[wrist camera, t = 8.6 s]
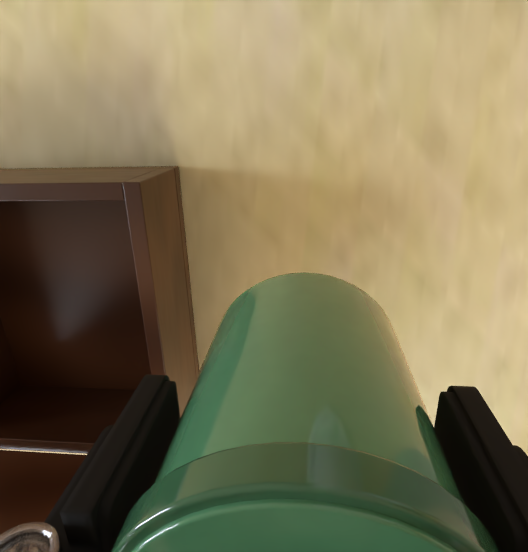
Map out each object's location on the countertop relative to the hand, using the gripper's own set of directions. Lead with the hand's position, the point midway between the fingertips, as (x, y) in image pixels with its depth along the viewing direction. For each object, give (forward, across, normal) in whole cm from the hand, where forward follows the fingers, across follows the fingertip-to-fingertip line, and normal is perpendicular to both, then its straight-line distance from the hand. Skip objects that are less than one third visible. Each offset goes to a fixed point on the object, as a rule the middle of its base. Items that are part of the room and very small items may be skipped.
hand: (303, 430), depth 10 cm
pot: (+3, 0, 0) cm, 3 cm away
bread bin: (+15, +14, +3) cm, 20 cm away
